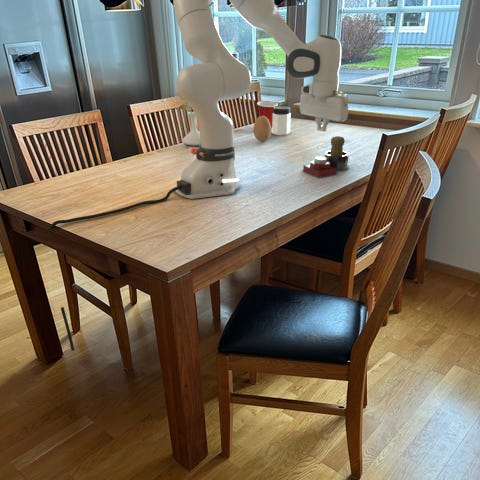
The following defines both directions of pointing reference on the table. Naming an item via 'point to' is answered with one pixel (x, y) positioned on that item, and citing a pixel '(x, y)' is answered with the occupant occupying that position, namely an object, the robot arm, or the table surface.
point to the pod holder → (338, 160)
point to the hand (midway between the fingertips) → (321, 130)
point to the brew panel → (319, 169)
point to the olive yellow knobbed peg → (337, 146)
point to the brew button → (320, 160)
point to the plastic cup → (267, 109)
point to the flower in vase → (193, 135)
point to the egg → (262, 128)
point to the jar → (281, 120)
